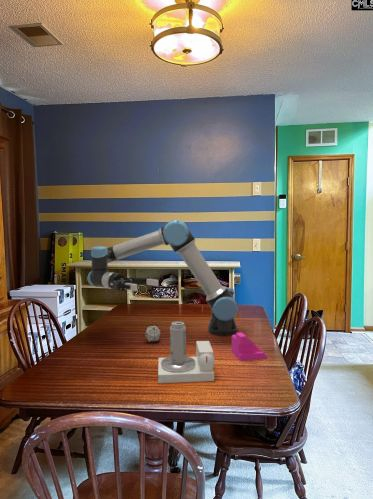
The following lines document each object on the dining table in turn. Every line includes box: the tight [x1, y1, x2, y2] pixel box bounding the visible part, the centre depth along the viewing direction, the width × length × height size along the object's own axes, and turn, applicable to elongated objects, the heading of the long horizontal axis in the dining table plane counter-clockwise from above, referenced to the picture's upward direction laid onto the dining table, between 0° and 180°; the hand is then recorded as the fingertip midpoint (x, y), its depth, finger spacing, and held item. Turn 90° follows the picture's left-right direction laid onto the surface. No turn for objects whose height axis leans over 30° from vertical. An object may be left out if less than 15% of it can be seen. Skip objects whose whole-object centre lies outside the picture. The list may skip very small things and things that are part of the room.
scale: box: [157, 340, 216, 384], centre depth 133 cm, size 20×16×10 cm
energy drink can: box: [169, 321, 187, 365], centre depth 132 cm, size 6×6×15 cm
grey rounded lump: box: [143, 324, 163, 344], centre depth 168 cm, size 9×8×10 cm
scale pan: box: [161, 355, 195, 373], centre depth 133 cm, size 13×13×1 cm
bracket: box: [231, 332, 268, 362], centre depth 150 cm, size 12×10×10 cm
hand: (147, 285), depth 152 cm, fingers open, 13 cm apart
